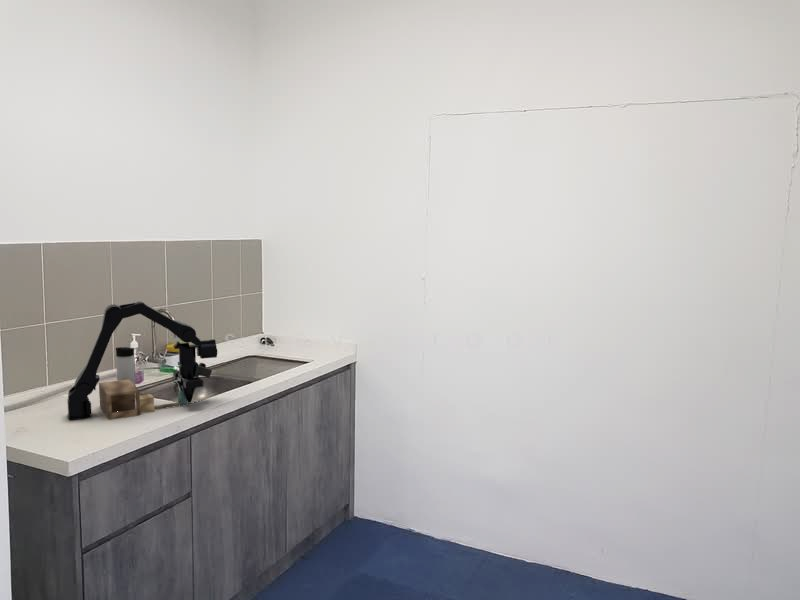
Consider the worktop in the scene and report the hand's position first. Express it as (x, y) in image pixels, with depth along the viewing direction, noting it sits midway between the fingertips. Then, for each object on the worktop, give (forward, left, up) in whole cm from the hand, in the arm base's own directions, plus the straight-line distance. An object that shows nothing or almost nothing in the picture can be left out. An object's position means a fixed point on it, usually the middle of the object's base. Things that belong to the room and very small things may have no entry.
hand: (188, 401), depth 230 cm
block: (-9, 0, -1) cm, 9 cm away
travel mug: (-18, +19, -1) cm, 26 cm away
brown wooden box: (-23, +4, -1) cm, 23 cm away
